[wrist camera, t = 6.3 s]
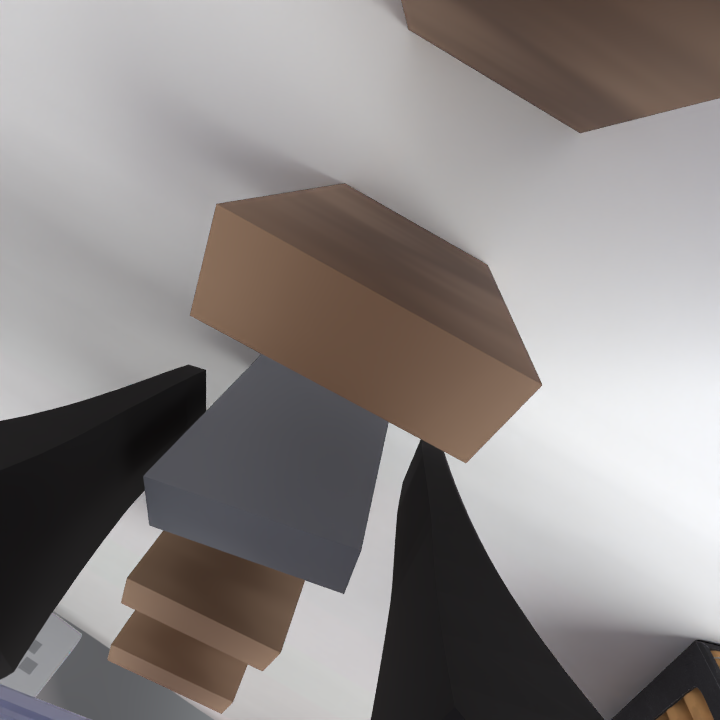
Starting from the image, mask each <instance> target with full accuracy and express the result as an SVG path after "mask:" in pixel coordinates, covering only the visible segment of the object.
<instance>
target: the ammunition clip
mask: <svg viewBox="0 0 720 720" xmlns="http://www.w3.org/2000/svg"><path fill="white" fill-rule="evenodd" d="M612 720H720V646H717V645H713V644H709V643H704V642H700V641H696V640H695V641H694V642H693V643H692V644H691V645H690V646H689V647H688V648H687V649H686V650H685V651H684V652H683V653H682V654H681V655H679V656H678V657H677V658H676V659H675V660H674V661H673V662H672V663H671V664H670V665H669V666H668V667H667V668H666V669H665V670H664V671H662V672H661V673H660V674H659V675H658V676H657V677H656V678H655V679H654V680H653V681H652V682H651V683H650V684H649V685H648V686H647V687H646V688H644V689H643V690H642V691H641V692H640V693H639V694H638V695H637V696H636V697H635V698H634V699H633V700H632V701H631V702H630V703H629V704H628V705H626V706H625V707H624V708H623V709H622V710H621V711H620V712H619V713H618V714H617V715H616V716H615V717H614V718H613V719H612Z"/></svg>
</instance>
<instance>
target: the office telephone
mask: <svg viewBox="0 0 720 720" xmlns="http://www.w3.org/2000/svg"><path fill="white" fill-rule="evenodd" d="M81 636H82V634H81V633H80V632H79V631H77V630H76V629H75V628H73V627H72V626H71V625H70V624H68V623H67V622H66V621H64V620H63V619H62V618H60V617H59V616H58V615H56V614H54V613H53V612H52V614H51V615H50V617H49V618H48V620H47V621H46V623H45V624H44V626H43V628H42V629H41V631H40V632H39V634H38V635H37V637H36V638H35V640H34V641H33V643H32V644H31V646H30V648H29V649H28V651H27V652H26V654H25V655H24V657H23V658H22V660H21V662H20V663H19V665H18V667H17V668H16V670H15V671H14V672H13V673H12V674H10V675H8V676H7V677H5V678H3V679H1V680H0V684H2V685H4V686H7V687H9V688H12V689H14V690H17V691H20V692H22V693H25V694H27V695H30V696H32V697H36V696H37V695H38V693H39V692H40V691H41V689H42V688H43V687H44V686H45V684H46V683H47V682H48V681H49V679H50V678H51V677H52V675H53V674H54V673H55V672H56V670H57V669H58V668H59V667H60V665H61V664H62V663H63V662H64V660H65V659H66V658H67V656H68V655H69V654H70V653H71V651H72V650H73V649H74V647H75V646H76V644H77V643H78V642H79V640H80V638H81Z"/></svg>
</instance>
